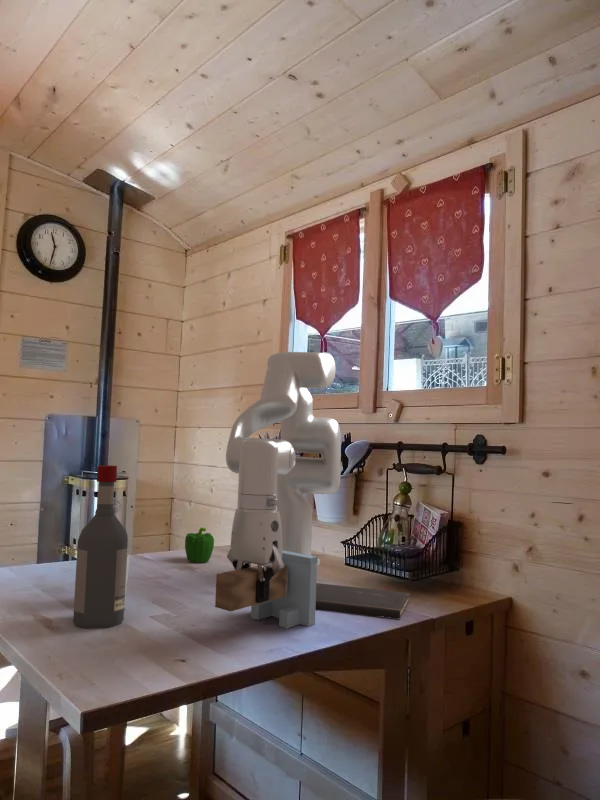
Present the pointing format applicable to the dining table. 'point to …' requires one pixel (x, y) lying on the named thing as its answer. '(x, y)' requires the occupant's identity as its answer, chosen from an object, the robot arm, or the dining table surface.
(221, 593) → the brown wooden block
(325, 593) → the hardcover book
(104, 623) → the liquor
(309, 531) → the robot arm
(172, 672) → the dining table surface
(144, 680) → the dining table surface
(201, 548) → the bell pepper
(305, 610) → the panel
